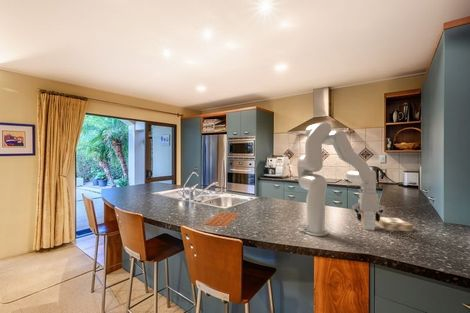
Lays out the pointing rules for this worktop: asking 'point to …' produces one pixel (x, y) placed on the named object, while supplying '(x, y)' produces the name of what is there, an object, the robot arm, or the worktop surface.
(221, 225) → the wooden cutting board
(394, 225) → the maple plinth
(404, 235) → the worktop surface
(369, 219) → the small box
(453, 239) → the worktop surface
